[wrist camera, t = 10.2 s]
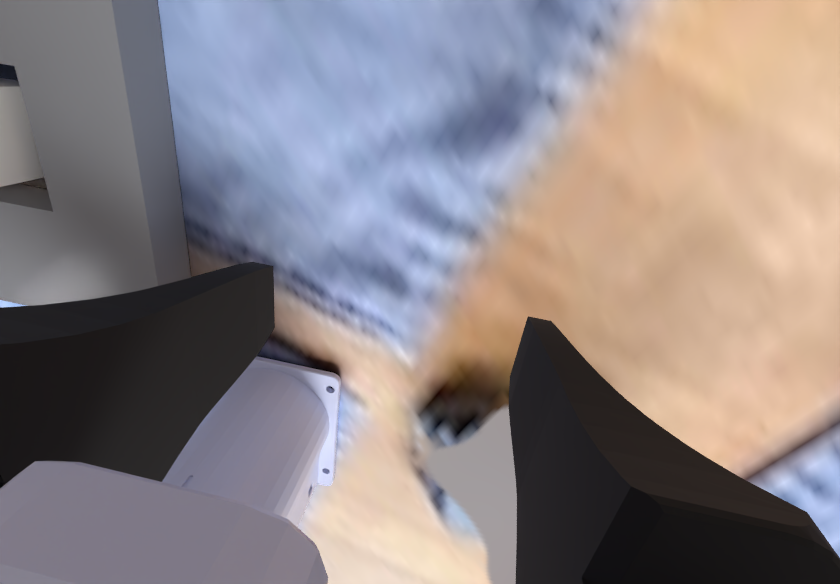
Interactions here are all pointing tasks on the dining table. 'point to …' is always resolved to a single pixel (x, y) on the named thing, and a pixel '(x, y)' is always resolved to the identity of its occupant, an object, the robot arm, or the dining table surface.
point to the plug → (16, 138)
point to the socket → (91, 154)
